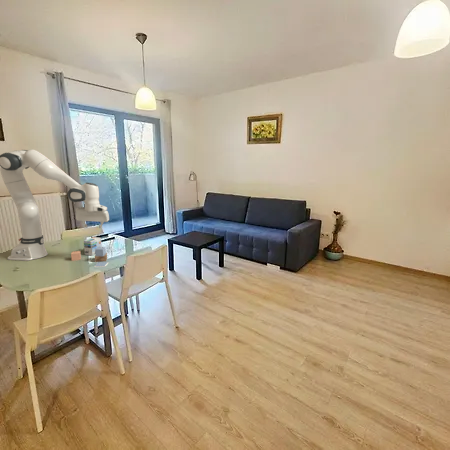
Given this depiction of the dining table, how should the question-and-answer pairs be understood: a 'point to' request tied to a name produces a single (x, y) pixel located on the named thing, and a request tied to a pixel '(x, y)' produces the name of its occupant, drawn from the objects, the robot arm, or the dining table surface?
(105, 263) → the tile
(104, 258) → the walnut block
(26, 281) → the dining table surface
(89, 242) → the light bulb box
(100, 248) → the slate block
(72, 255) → the terracotta block
